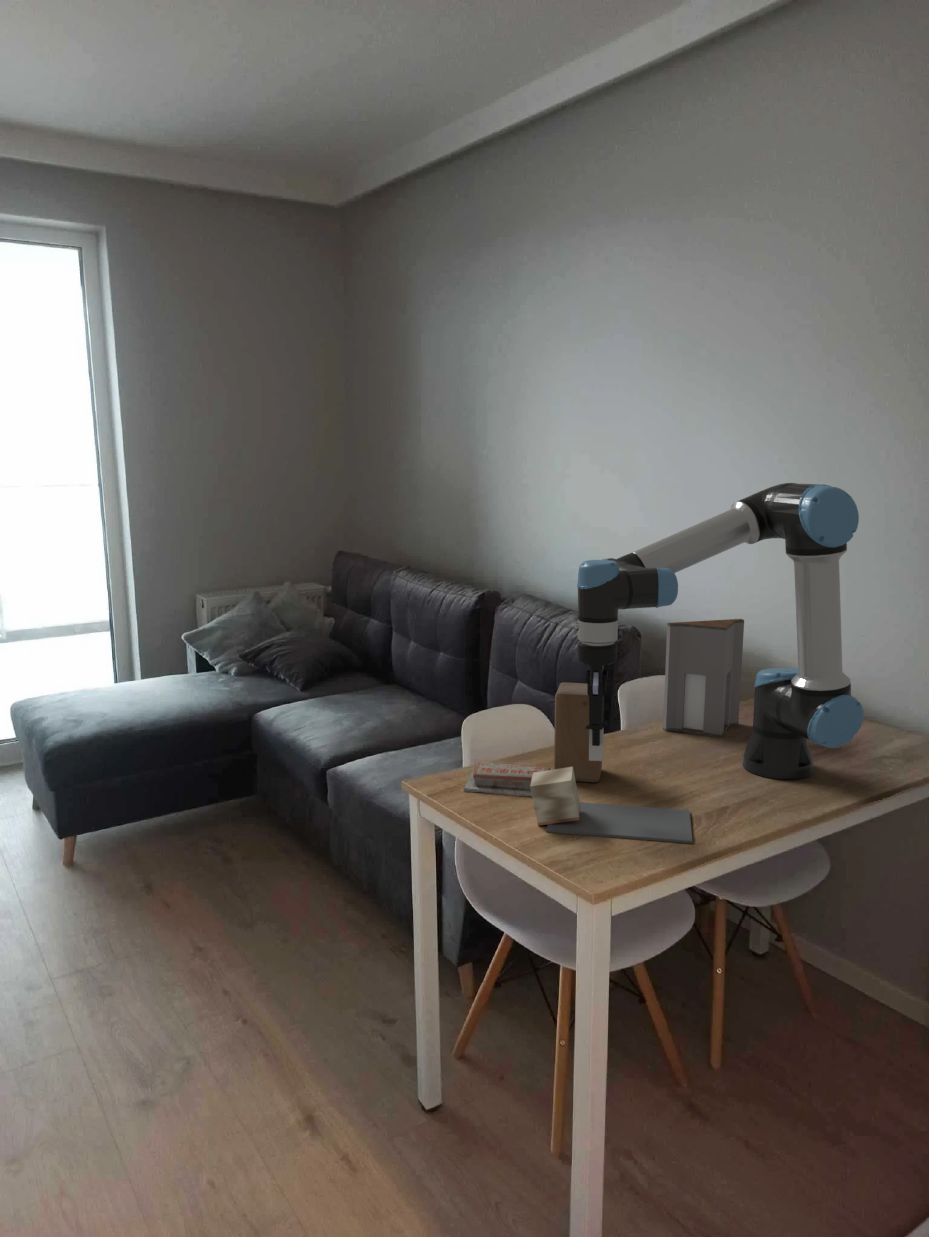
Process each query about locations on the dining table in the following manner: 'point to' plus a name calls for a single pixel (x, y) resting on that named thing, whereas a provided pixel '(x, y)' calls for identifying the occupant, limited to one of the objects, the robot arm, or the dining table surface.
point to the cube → (555, 796)
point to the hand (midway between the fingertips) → (596, 759)
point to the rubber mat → (629, 823)
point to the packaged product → (502, 778)
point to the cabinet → (703, 676)
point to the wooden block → (574, 732)
